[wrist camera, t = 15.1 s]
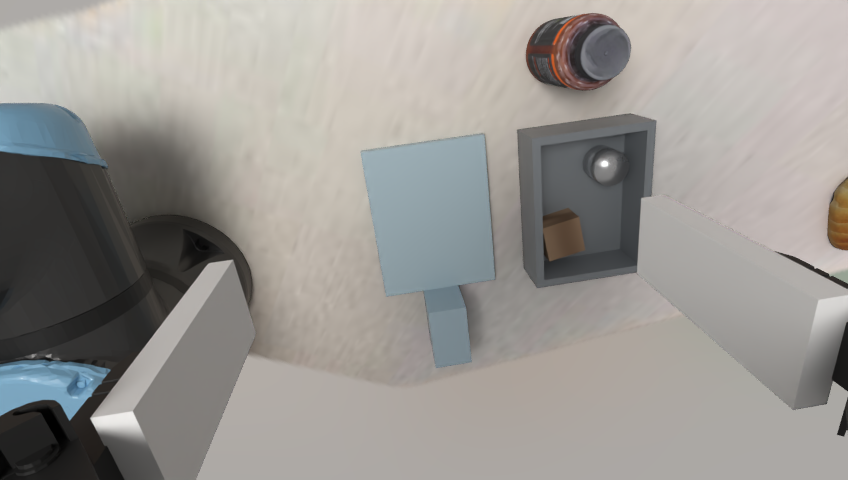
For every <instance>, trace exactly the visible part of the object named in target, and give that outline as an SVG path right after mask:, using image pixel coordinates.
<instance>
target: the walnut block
mask: <svg viewBox="0 0 848 480" xmlns="http://www.w3.org/2000/svg"><path fill="white" fill-rule="evenodd" d="M543 250H544V255H545V256H546V258H547V259H548V260H549V261H553V260H556V259H559V258H562V257H565V256H568V255H572V254H575V253H578V252H581V251H584V250H585V246H584V241H583V235H582V230H581V225H580V219H579V216H577V215H576V214H575V213H574V212H573V211H571V210H570V209H569V208H566V209H563V210H560V211H557V212H554V213H551V214H547V215H544V216H543Z"/></svg>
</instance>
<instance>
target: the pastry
mask: <svg viewBox="0 0 848 480" xmlns="http://www.w3.org/2000/svg"><path fill="white" fill-rule="evenodd" d="M828 237H829V239H830V243H831V244H832V245H833V246H834V247H835V248H839V249H841V250H848V178H847V179H846V180H845V181H844V182H843V183H841V184H840V185H839V186H838V188H837V189H836V191H835V192H834V198H833V201H832V202H831V203H830V208H829V216H828Z"/></svg>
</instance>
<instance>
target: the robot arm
mask: <svg viewBox="0 0 848 480" xmlns="http://www.w3.org/2000/svg"><path fill="white" fill-rule="evenodd" d="M106 169H108V165H107V163H106V162H105V160H103V159H101V158H100V156H99V154H98V152H97V149H96V147H95V145H94V143H93V141H92V139H91V137H90V135H89V133H88V131H87V129H86V127H85V125H84V123H83V122H82V120H81V119H80V118H79V117H78V116H77V115H76V114H75V113H73V112H72V111H70V110H68V109H66V108H64V107H61V106H58V105H53V104H45V103H1V104H0V480H196V478H197V476H198V473H199V471H200V468H201V466H202V464H203V461H204V459H205V456H206V454H207V451H208V449H209V446H210V444H211V442H212V439H213V437H214V434H215V432H216V430H217V427H218V425H219V422H220V420H221V418H222V415H223V413H224V410H225V408H226V405H227V403H228V401H229V398H230V396H231V393H232V391H233V388H234V386H235V384H236V381H237V379H238V376H239V374H240V371H241V369H242V367H243V364H244V362H245V359H246V357H247V355H248V352H249V350H250V347H251V345H252V343H253V340H254V338H255V335H256V331H255V328H254V325H253V322H252V318H251V315H250V312H249V309H248V304H249V301H250V298H251V292H252V280H251V274H250V270H249V267H248V265H247V262H246V260H245V258H244V256H243V255H242V253H241V252H240V250H239V249H238V248H237V247H236V245H235V244H234V243H233V242H232V241H231V240H230V239H229V238H228V237H226V236H225V235H224V234H223V233H221V232H220V231H218V230H217V229H215V228H214V227H212V226H210V225H208V224H206V223H203V222H201V221H198V220H195V219H192V218H188V217H183V216H175V215H161V216H154V217H149V218H145V219H142V220H139V221H137V222H135V223H133V224H131V225H129V223H128V220H127V218H126V216H125V213H124V211H123V209H122V206H121V204H120V201H119V199H118V197H117V194H116V192H115V190H114V187H113V185H112V183H111V180H110V178H109V175H108V173H107V171H106ZM637 274H638V275H639V276H640V277H641V278H643V279H644V280H645V281H646V282H647V283H648V284H649V285H651V286H652V287H653V288H654V289H655V290H656V291H657V292H659V293H660V294H661V295H662V296H663V297H664V298H665V299H667V300H668V301H669V302H670V303H671V304H672V305H673V306H675V307H676V308H677V309H678V310H679V311H680V312H681V313H683V314H684V315H685V316H686V317H687V318H688V319H690V320H691V321H692V322H693V323H694V324H695V325H696V326H697V327H699V328H700V329H701V330H702V331H703V332H704V333H705V334H707V335H708V336H709V337H710V338H711V339H712V340H713V341H715V342H716V343H717V344H718V345H719V346H720V347H721V348H723V349H724V350H725V351H726V352H727V353H728V354H730V355H731V356H732V357H733V358H734V359H735V360H736V361H738V362H739V363H740V364H741V365H742V366H743V367H744V368H746V369H747V370H748V371H749V372H750V373H751V374H753V375H754V376H755V377H756V378H757V379H758V380H759V381H761V382H762V383H763V384H764V385H765V386H766V387H767V388H769V389H770V390H771V391H772V392H773V393H774V394H775V395H776V396H778V397H779V398H780V399H781V400H782V401H783V402H785V403H786V404H787V405H788V406H789V407H790V408H791V409H792V410H795V409H801V408H807V407H813V406H819V405H824V404H827V401H828V397H829V393H830V390H831V386H832V382H833V381H834V382H836V383H837V384H839V385H840V386H841V387H843V388H844V389H845V390H847V391H848V284H847V283H845V282H843V281H841V280H839V279H837V278H835V277H834V276H831V277H830V276H829V274H828V273H826V272H824V271H822V270H820V269H818V268H817V269H814V266H812V265H810V264H808V263H806V262H804V261H802V260H800V259H798V258H796V257H793V256H789V255H786V254H783V253H779V252H776V251H773V250H771V249H769V248H767V247H765V246H763V245H761V244H759V243H757V242H755V241H753V240H751V239H749V238H748V237H746V236H744V235H742V234H740V233H738V232H736V231H734V230H732V229H730V228H728V227H726V226H724V225H722V224H720V223H719V222H717V221H715V220H713V219H711V218H709V217H707V216H705V215H703V214H701V213H699V212H697V211H695V210H693V209H691V208H690V207H688V206H686V205H684V204H682V203H680V202H678V201H676V200H674V199H672V198H670V197H668V196H666V195H657V196H651V197H644V198H641V212H640V229H639V246H638V263H637ZM846 430H848V399H847V402H846V406H845V409H844V413H843V416H842V420H841V423H840V426H839V430H838V433H837V435H841V436H844V435H845V432H846Z"/></svg>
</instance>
